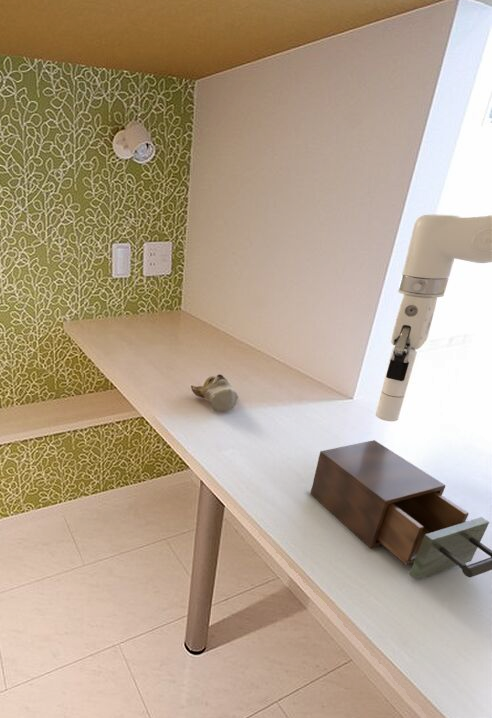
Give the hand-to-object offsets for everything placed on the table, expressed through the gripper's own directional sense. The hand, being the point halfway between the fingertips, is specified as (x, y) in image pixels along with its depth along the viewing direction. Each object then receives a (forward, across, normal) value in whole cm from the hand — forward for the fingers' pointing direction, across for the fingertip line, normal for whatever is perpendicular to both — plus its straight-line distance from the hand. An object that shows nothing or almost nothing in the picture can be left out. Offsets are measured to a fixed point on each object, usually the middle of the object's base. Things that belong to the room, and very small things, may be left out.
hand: (398, 374), depth 89 cm
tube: (+10, 0, 0) cm, 10 cm away
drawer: (+17, -29, -13) cm, 36 cm away
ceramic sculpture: (+18, -4, +39) cm, 43 cm away
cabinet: (+18, -24, -4) cm, 30 cm away
